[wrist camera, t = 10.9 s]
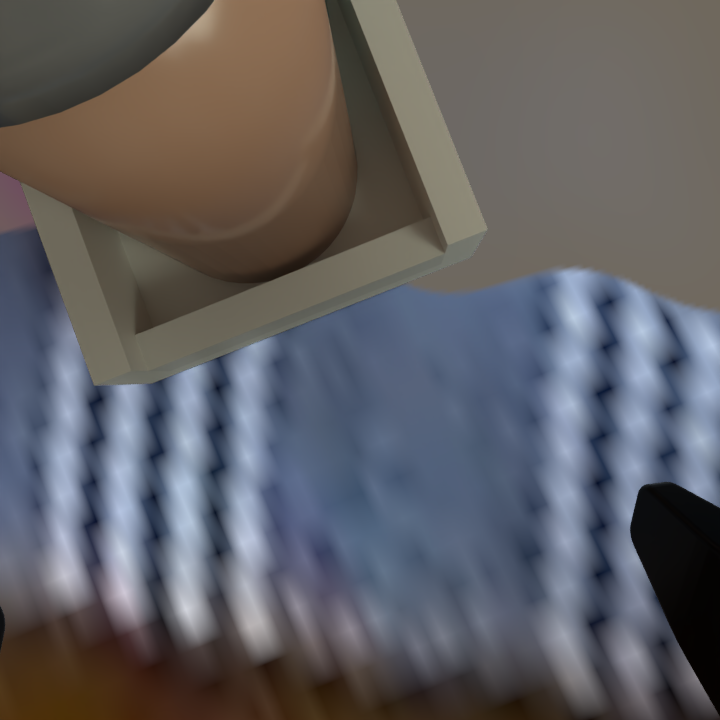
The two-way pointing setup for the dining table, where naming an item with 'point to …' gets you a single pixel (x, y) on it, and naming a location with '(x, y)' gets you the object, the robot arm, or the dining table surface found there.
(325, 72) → the grey brown rounded piece
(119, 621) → the dining table surface
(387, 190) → the pusher lane
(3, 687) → the dining table surface
